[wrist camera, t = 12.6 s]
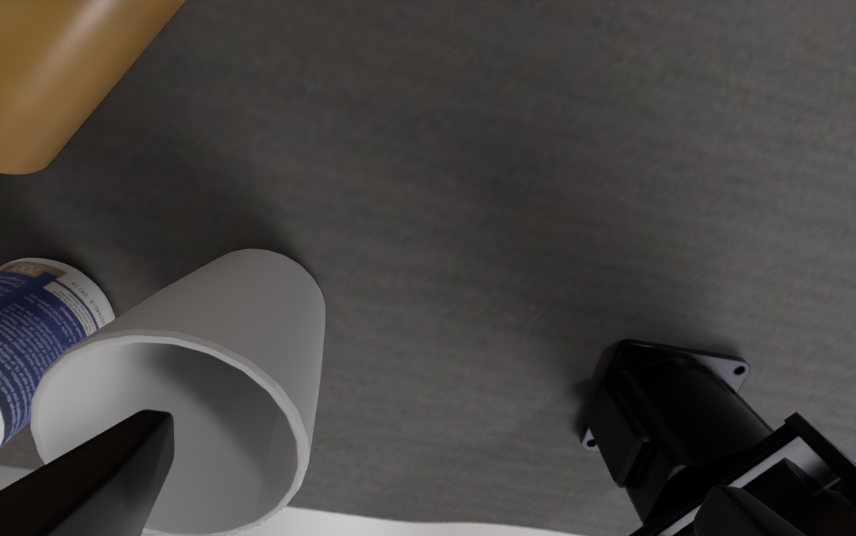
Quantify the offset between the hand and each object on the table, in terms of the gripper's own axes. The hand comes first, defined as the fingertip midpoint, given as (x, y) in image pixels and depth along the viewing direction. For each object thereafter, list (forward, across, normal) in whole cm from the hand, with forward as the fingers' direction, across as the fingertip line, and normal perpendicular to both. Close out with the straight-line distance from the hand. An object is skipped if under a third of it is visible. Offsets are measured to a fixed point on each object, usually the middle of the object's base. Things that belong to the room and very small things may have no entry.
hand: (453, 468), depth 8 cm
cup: (+13, +7, +6) cm, 16 cm away
